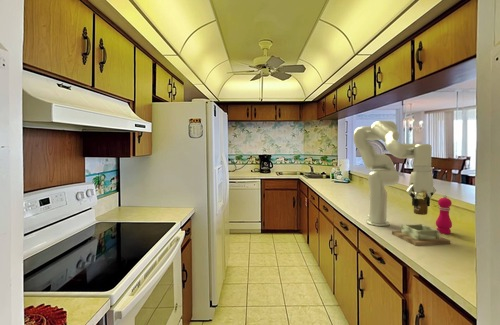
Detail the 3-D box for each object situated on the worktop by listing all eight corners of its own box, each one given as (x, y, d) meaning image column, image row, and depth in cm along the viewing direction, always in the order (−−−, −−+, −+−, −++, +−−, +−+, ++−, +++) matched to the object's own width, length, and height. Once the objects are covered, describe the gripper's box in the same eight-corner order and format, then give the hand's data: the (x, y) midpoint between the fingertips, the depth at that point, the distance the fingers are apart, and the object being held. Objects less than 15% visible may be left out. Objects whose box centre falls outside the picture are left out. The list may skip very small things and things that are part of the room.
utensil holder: (422, 212, 150) (423, 188, 150) (430, 215, 144) (431, 190, 143) (411, 212, 150) (411, 188, 149) (418, 215, 144) (419, 190, 143)
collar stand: (391, 233, 156) (392, 223, 155) (423, 232, 158) (423, 222, 158) (415, 245, 138) (415, 233, 138) (450, 243, 140) (450, 232, 140)
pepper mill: (445, 230, 162) (446, 193, 161) (455, 234, 155) (456, 196, 154) (432, 230, 162) (433, 193, 161) (441, 234, 155) (442, 196, 154)
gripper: (432, 168, 151) (431, 204, 152) (400, 168, 148) (399, 205, 149) (443, 169, 143) (442, 207, 144) (410, 170, 141) (409, 208, 142)
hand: (420, 205), depth 147 cm, fingers closed on utensil holder, 5 cm apart
